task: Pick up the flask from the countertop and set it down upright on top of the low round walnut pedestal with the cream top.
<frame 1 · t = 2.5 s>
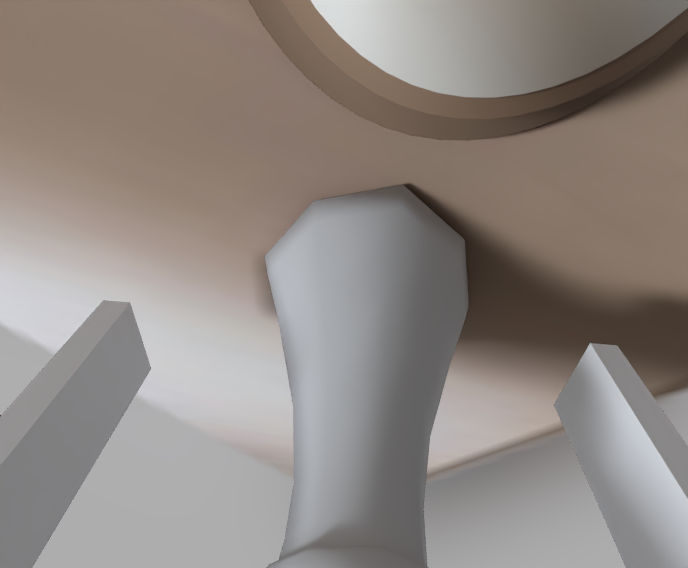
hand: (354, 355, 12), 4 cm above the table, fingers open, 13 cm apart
flask: (369, 274, 15), on the table
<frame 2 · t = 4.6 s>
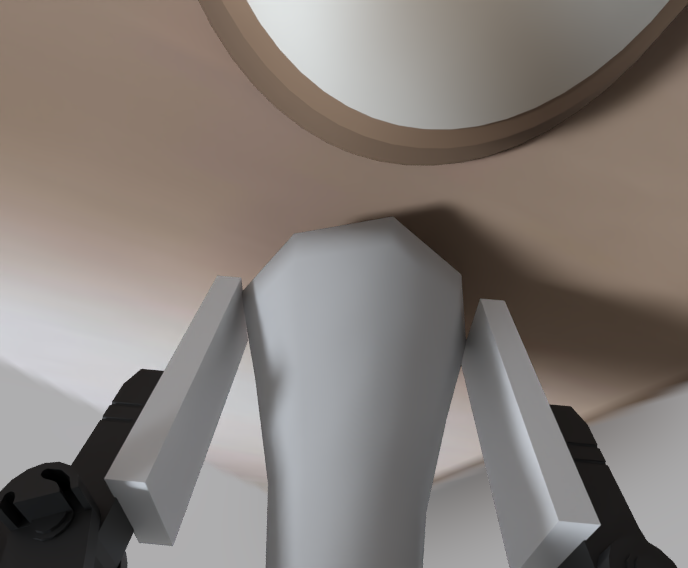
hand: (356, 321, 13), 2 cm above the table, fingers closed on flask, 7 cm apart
flask: (357, 308, 14), point 1 cm above the table, touching gripper
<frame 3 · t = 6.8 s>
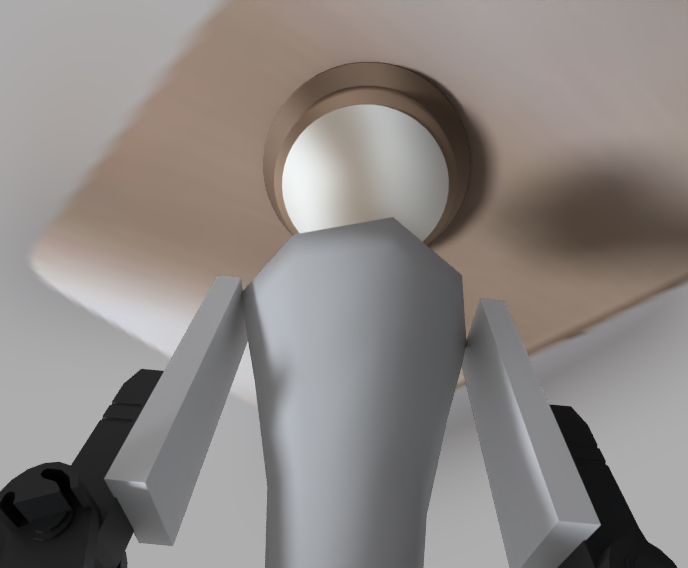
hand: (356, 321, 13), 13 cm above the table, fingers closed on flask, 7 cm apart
pedestal: (365, 175, 24), on the table
flask: (357, 309, 14), point 13 cm above the table, touching gripper
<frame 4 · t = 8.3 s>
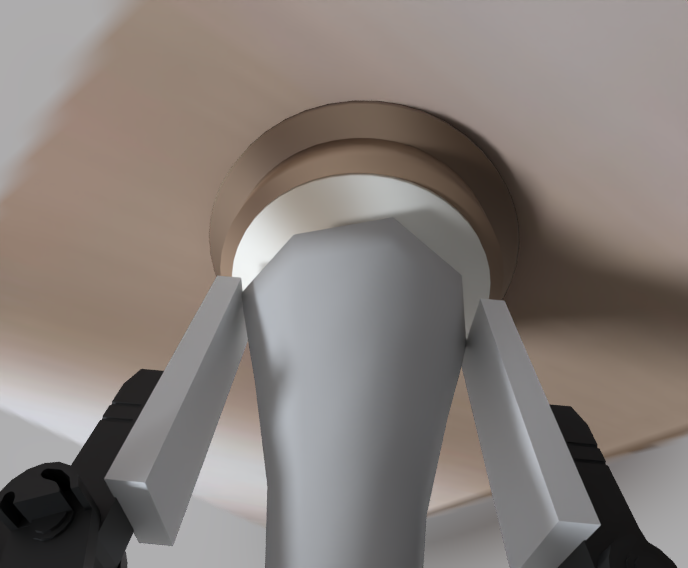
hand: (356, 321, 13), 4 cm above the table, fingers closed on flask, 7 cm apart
pedestal: (360, 258, 16), on the table
flask: (357, 309, 14), point 3 cm above the table, touching gripper
when the fingers open (3 cm above the table, at t = 9.2 s): flask stays where it is, resting on pedestal.
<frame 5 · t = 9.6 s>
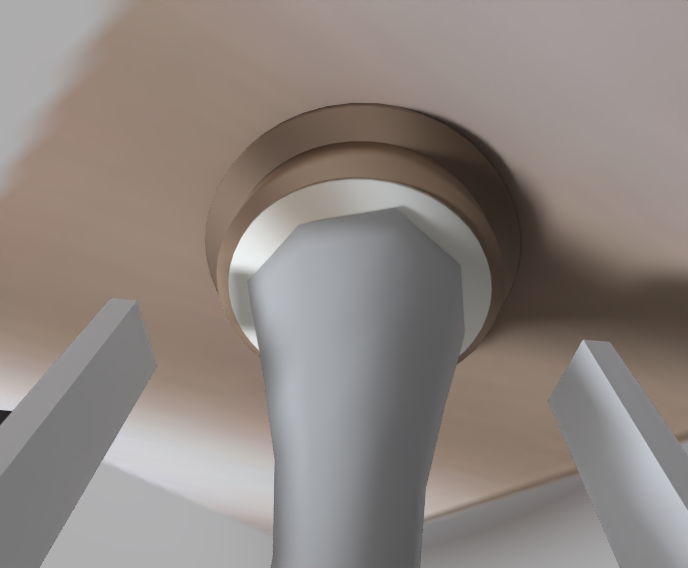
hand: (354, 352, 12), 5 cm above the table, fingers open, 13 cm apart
pedestal: (359, 263, 16), on the table
flask: (359, 299, 14), point 2 cm above the table, touching pedestal
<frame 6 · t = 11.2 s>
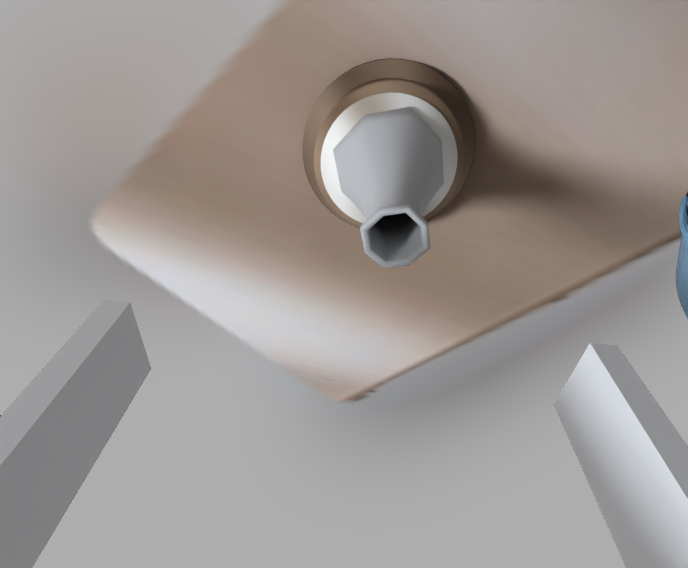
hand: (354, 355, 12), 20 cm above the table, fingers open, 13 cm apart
pedestal: (386, 153, 29), on the table
flask: (389, 164, 27), point 2 cm above the table, touching pedestal
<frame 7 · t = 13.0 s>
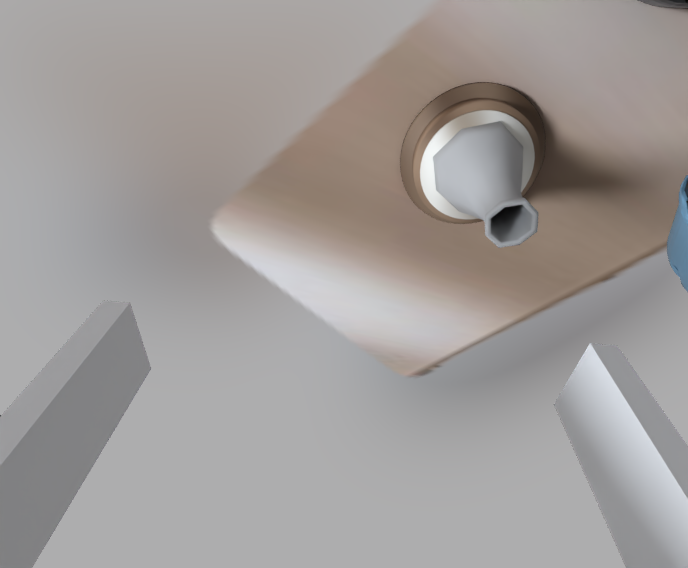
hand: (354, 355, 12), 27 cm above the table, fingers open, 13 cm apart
pedestal: (469, 158, 35), on the table
flask: (476, 167, 33), point 2 cm above the table, touching pedestal
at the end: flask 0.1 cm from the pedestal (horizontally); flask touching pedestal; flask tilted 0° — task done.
